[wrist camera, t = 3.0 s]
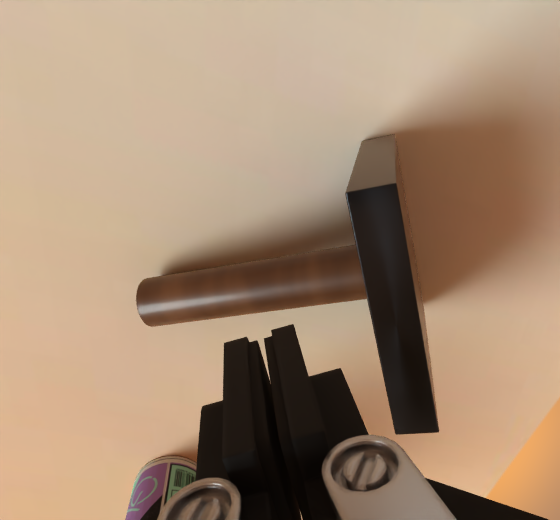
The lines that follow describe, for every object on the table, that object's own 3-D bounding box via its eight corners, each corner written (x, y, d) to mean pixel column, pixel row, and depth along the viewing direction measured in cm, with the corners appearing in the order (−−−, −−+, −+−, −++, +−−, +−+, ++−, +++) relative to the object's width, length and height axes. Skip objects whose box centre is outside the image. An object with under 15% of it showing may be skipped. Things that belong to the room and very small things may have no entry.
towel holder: (391, 133, 30) (488, 158, 19) (420, 306, 34) (515, 411, 23) (113, 207, 30) (44, 277, 19) (175, 373, 34) (149, 512, 23)
